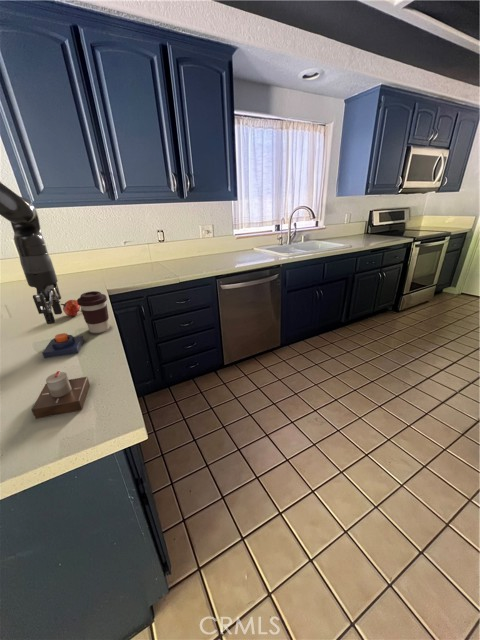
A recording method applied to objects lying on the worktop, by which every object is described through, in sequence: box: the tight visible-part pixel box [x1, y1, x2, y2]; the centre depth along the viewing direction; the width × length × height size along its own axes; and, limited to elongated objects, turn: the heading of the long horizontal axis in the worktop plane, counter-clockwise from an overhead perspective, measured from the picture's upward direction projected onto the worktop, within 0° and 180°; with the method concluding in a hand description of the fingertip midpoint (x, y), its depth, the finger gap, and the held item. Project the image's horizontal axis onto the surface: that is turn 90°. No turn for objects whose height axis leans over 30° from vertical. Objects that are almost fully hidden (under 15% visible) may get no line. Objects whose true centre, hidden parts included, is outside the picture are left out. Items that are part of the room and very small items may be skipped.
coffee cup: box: [76, 290, 110, 334], centre depth 102 cm, size 10×10×15 cm
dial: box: [45, 370, 71, 397], centre depth 66 cm, size 4×4×5 cm
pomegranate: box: [60, 299, 82, 318], centre depth 117 cm, size 7×7×10 cm
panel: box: [31, 376, 91, 420], centre depth 68 cm, size 10×10×3 cm
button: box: [54, 332, 68, 342], centre depth 90 cm, size 4×4×2 cm
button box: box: [42, 334, 85, 359], centre depth 91 cm, size 10×9×4 cm
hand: (55, 318), depth 87 cm, fingers open, 7 cm apart
